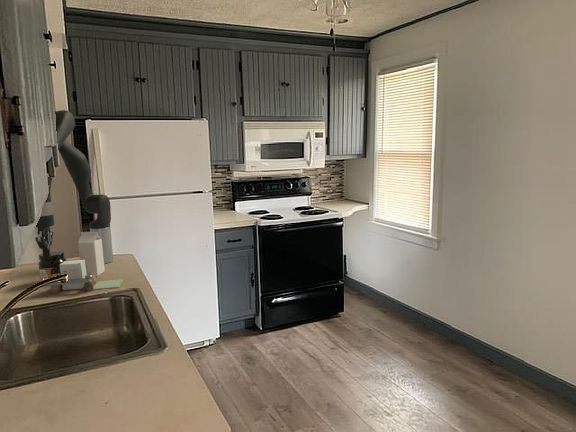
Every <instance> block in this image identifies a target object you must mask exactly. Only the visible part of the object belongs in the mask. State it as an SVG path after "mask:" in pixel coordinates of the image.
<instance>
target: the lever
mask: <svg viewBox="0 0 576 432" xmlns="http://www.w3.org/2000/svg"><path fill="white" fill-rule="evenodd" d="M91 278H93V276H92V275H86V276H85V278H78V279H68V281H67V282H66V283H61V282H54V283H51V284H48V285H46V286H45V287H49V286H50V287H51V286H53V285H64V284H75V283H87V282H89V281H90V279H91ZM43 280H45V279H44V278H43V279H40V278H39V282H41V281H43Z"/></svg>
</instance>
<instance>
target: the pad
mask: <svg viewBox="0 0 576 432" xmlns="http://www.w3.org/2000/svg"><path fill="white" fill-rule="evenodd" d="M122 283H123V279H122V278H121V279H112V280H109V279H108V280H100V281H99V280H97V282H96V284H95V285H94V286H93V289H94V290H95V291H96V290H107V289H116V288H117V289H119V288H120V286H121V285H122ZM94 290H93V291H94Z"/></svg>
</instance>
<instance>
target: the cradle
mask: <svg viewBox="0 0 576 432" xmlns="http://www.w3.org/2000/svg"><path fill="white" fill-rule="evenodd" d="M92 276H93V278H91V279H90V281H89V282H87V283H85V287H84V290H85V291H87V293H88V292H93V291H94V289H93V287H94V285H95V284H96V283H97V282H98V276H96V275H92ZM50 288H51V289H50V290H51V294H58V293H60V292H61V290H63V288H62V285H53V286H50Z"/></svg>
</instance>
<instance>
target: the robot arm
mask: <svg viewBox="0 0 576 432" xmlns="http://www.w3.org/2000/svg"><path fill="white" fill-rule="evenodd" d="M54 112H55V114H56V131H57V143H58V150H59V151H58V152H59V155H60V157H61V158H62V160H63V163H64V165H65V167H66V169H67V171H68V173H69V175H70V177H71V179H72V181H73V184H74V186H75V188H76V191H77V192H78V193H77V194H78V197H79V199H80V201H81V204H82V207H83V209H84V210H85V211H86V213H88V214H91V215H92V214H95V215H96V218H95V219H94V220H92V221H90V222H89V232H97V234H98V235H99V237H100V238H101V239H102V248H103V259H104V264H108V263H112V262H114V254H113V253H114V251H113V250H114V249H113V240H112V230H111V221H112V213H111V211H112V209H111V201H110V198H109V196H108V195H106V194H94V193H93V192H92V190H91V186H90V179H91V174H92V170H91V168H92V167H91V166H90V164H89V160H88V159H87V157H86V155H85V154H84V153H83V152H82V151H80V149H78V148H76V147H75V146H74V145H72V143H70V142H69V141H68V140H67V139H68V137H69V136H70V134H72V132H73V131H74V129H75V126H76V122H75V121H76V120H75V117H74V115H73V114H72V113H71V112H70V111H69V110H65V109H64V110H54ZM52 181H53V177H52V178H51V177H48V185H49V194H48V198H47V200H46V202H45V204H44V206H43V210H42V214H41V217H40V219H39V221H38V223H37V225H36V228H37V233H36V235H37V236H36V237H35V241H36V244H37V246H38V248H39V249H41V250H42V253H43V258H44V259H46V258H50V257H51V254H50V252H51V247H52V246H53V245H52V244H53V236H54V232H53V231H52V230H51V227H54V225H55V217H54V216H55V215H54V208H53V204H52V197H51V195H52V194H51V187H52V183H53V182H52Z"/></svg>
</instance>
